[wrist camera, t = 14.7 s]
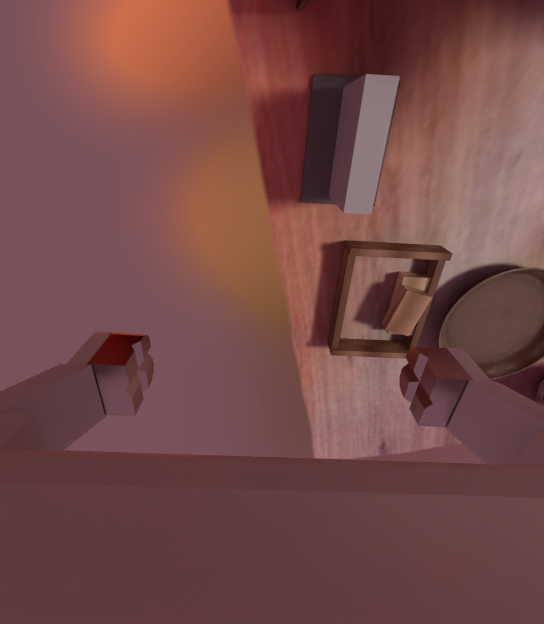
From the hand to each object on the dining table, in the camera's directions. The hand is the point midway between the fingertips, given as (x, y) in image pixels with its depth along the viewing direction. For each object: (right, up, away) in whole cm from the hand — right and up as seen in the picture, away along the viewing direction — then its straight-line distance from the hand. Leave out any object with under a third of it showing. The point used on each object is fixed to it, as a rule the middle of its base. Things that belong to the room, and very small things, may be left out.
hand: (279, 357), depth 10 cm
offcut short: (+20, +2, +39) cm, 44 cm away
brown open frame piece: (+17, +4, +41) cm, 44 cm away
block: (+9, +22, +30) cm, 38 cm away
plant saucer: (+37, 0, +43) cm, 57 cm away
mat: (+9, +22, +30) cm, 39 cm away
